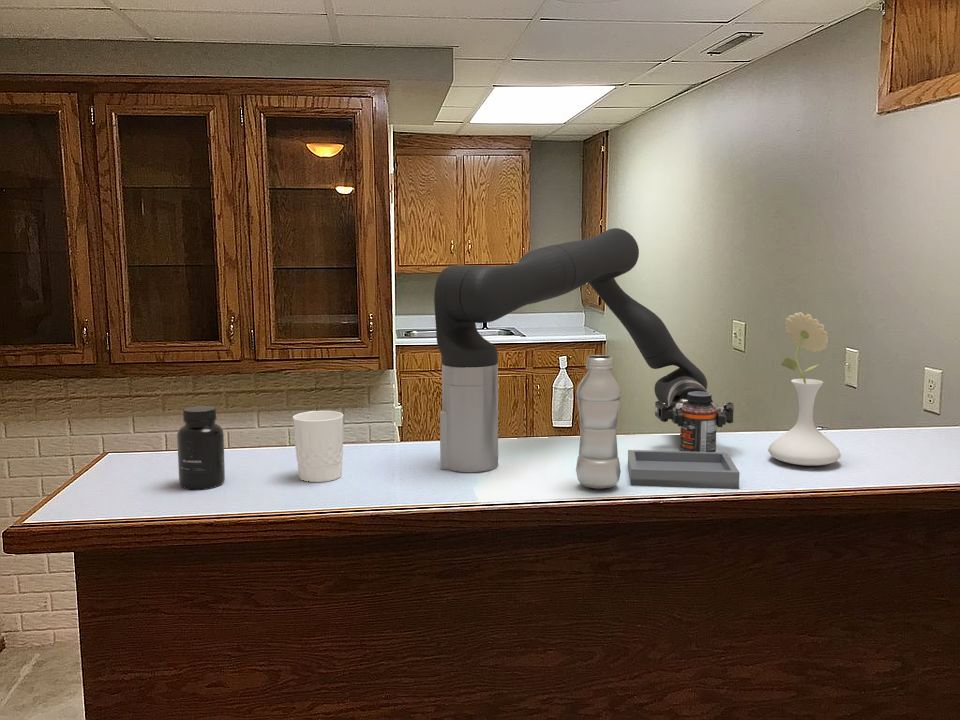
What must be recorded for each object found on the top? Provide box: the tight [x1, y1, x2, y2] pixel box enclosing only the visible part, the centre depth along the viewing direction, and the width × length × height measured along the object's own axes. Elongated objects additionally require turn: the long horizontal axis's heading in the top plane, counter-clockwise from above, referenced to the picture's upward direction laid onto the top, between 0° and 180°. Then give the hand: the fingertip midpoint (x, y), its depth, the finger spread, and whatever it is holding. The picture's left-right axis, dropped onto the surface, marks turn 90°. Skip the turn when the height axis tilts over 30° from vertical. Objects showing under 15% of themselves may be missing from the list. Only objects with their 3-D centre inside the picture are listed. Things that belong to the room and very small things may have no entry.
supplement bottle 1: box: [176, 405, 226, 490], centre depth 129 cm, size 7×7×12 cm
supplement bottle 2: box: [679, 391, 717, 452], centre depth 142 cm, size 6×6×11 cm
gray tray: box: [627, 449, 740, 490], centre depth 132 cm, size 16×12×2 cm
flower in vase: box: [767, 311, 842, 466], centre depth 139 cm, size 13×11×25 cm
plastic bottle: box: [575, 354, 622, 489], centre depth 125 cm, size 6×7×20 cm
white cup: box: [292, 410, 344, 483], centre depth 133 cm, size 8×8×10 cm
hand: (700, 420), depth 140 cm, fingers closed on supplement bottle 2, 6 cm apart
